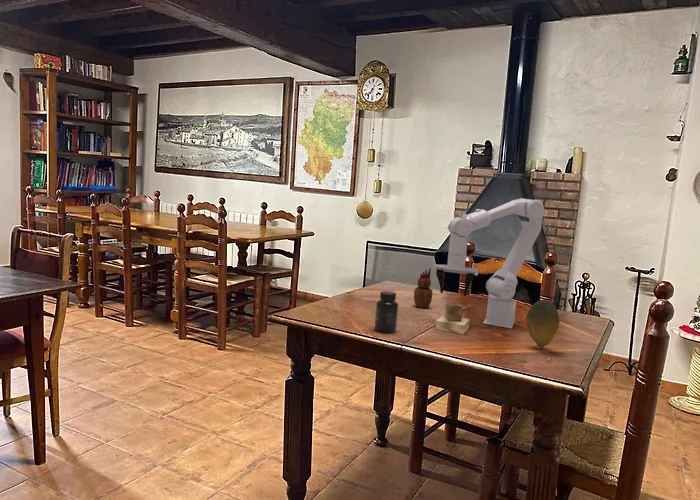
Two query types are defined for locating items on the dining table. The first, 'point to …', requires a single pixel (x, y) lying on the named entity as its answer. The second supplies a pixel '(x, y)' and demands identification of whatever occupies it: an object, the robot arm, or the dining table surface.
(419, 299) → the wooden figurine
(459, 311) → the walnut block
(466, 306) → the dining table surface
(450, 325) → the base block
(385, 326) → the supplement bottle
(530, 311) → the mango
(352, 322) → the dining table surface
